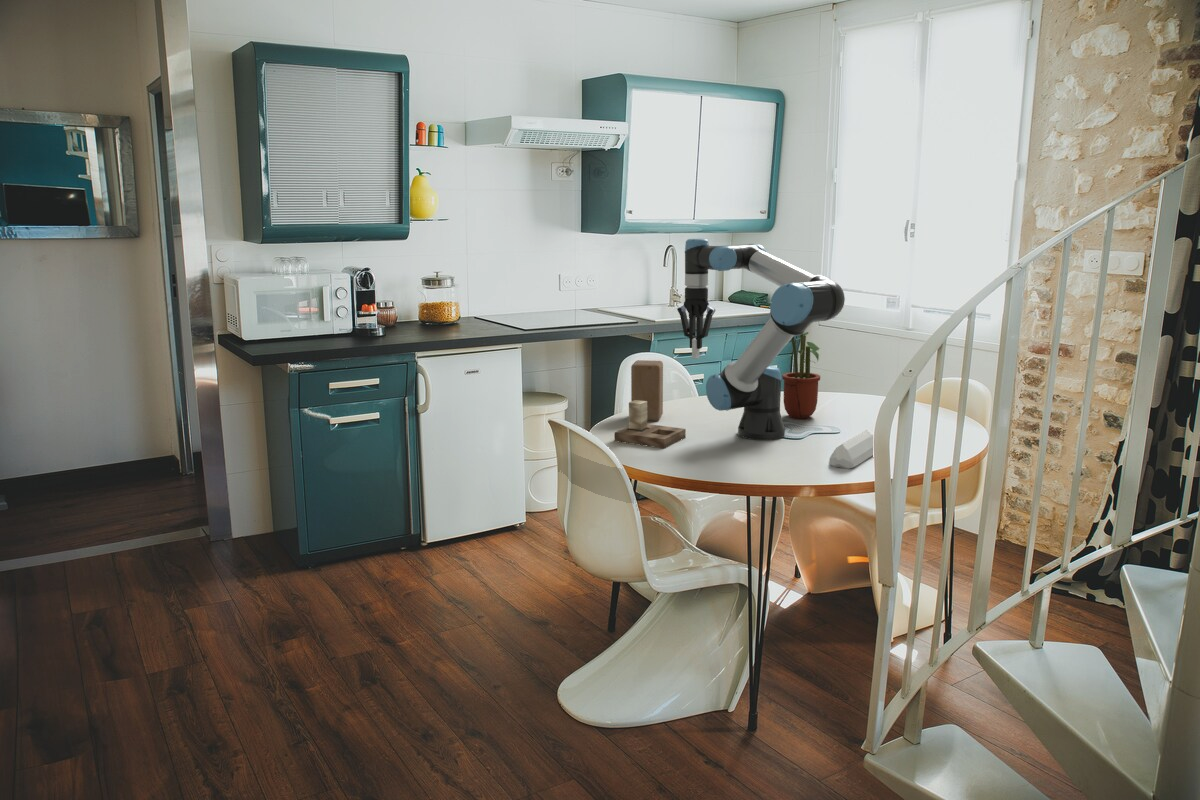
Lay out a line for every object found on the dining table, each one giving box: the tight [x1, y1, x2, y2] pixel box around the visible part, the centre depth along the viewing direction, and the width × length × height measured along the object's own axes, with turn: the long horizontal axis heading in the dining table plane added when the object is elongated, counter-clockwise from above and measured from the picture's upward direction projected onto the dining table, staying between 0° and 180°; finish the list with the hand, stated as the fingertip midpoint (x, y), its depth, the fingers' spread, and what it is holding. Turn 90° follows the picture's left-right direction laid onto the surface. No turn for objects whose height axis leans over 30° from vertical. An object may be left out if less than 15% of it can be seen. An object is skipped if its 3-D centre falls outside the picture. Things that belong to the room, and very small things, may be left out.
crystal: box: [828, 429, 874, 469], centre depth 276 cm, size 7×7×24 cm
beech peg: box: [628, 400, 648, 432], centre depth 302 cm, size 4×4×12 cm
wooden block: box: [630, 359, 664, 422], centre depth 328 cm, size 10×10×20 cm
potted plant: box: [781, 331, 821, 420], centre depth 328 cm, size 17×16×35 cm
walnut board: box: [613, 423, 687, 449], centre depth 301 cm, size 18×15×3 cm
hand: (695, 358), depth 308 cm, fingers closed
